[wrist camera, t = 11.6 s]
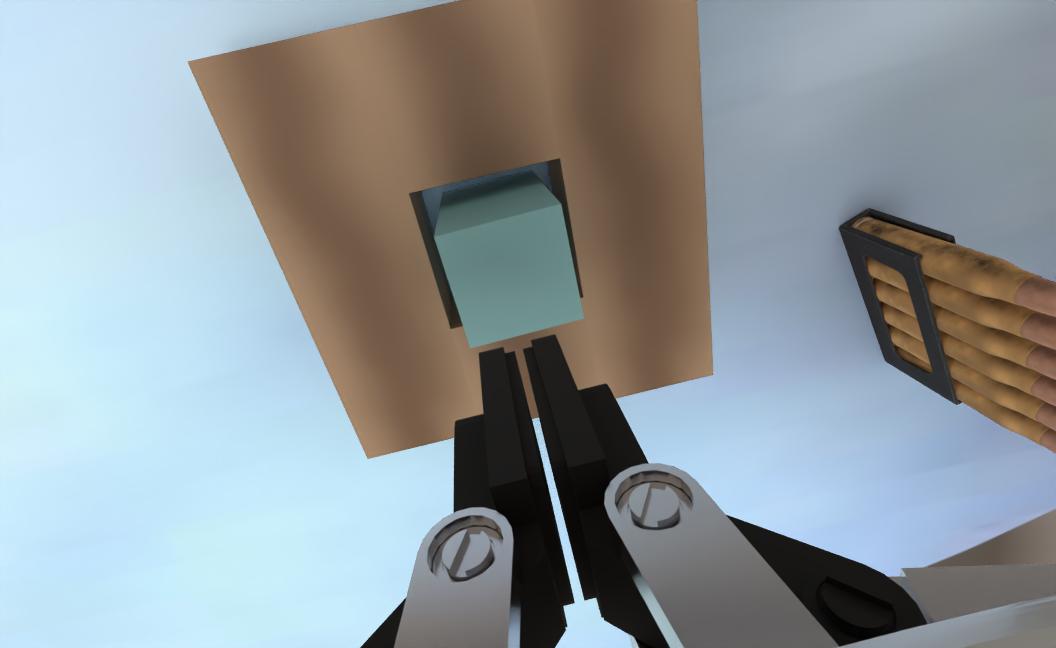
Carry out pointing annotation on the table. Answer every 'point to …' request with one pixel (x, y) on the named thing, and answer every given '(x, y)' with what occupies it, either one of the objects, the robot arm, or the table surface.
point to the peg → (507, 258)
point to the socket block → (469, 152)
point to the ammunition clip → (960, 321)
